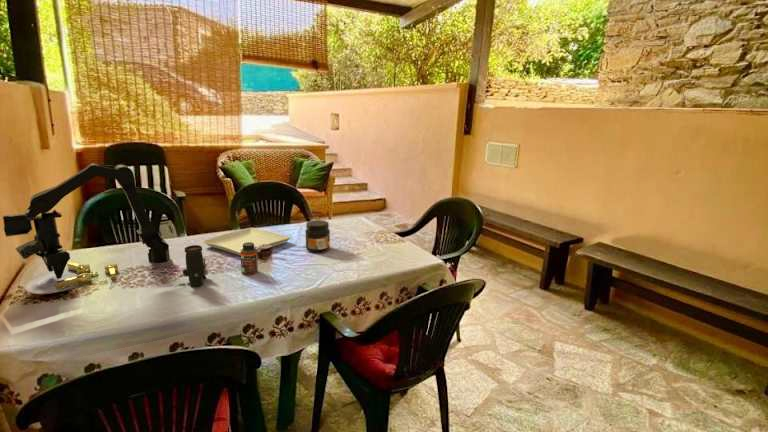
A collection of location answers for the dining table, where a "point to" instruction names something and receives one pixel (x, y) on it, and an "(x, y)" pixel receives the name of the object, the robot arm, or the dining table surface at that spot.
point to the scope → (195, 266)
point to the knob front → (79, 267)
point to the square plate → (246, 239)
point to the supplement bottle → (249, 259)
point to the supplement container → (317, 236)
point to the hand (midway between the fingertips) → (55, 274)
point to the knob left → (74, 280)
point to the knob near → (111, 270)
